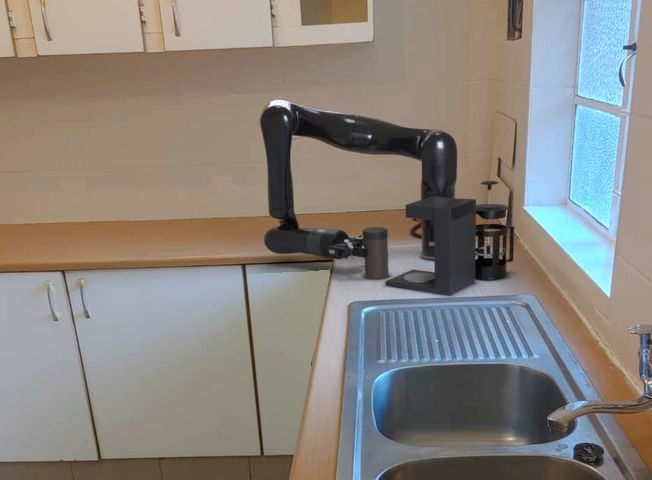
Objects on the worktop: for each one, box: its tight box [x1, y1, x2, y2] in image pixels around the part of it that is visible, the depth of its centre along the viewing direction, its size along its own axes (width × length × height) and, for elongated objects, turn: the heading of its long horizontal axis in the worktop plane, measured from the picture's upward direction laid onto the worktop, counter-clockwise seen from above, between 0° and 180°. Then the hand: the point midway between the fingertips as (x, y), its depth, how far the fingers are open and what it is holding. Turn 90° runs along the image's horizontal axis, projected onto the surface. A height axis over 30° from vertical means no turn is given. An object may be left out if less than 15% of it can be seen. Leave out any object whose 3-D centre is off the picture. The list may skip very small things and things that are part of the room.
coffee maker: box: [385, 197, 477, 297], centre depth 179 cm, size 18×12×20 cm, turn 52°
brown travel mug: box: [362, 226, 390, 280], centre depth 190 cm, size 6×6×12 cm
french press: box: [475, 180, 515, 281], centre depth 183 cm, size 12×9×23 cm
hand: (377, 249), depth 190 cm, fingers open, 8 cm apart
